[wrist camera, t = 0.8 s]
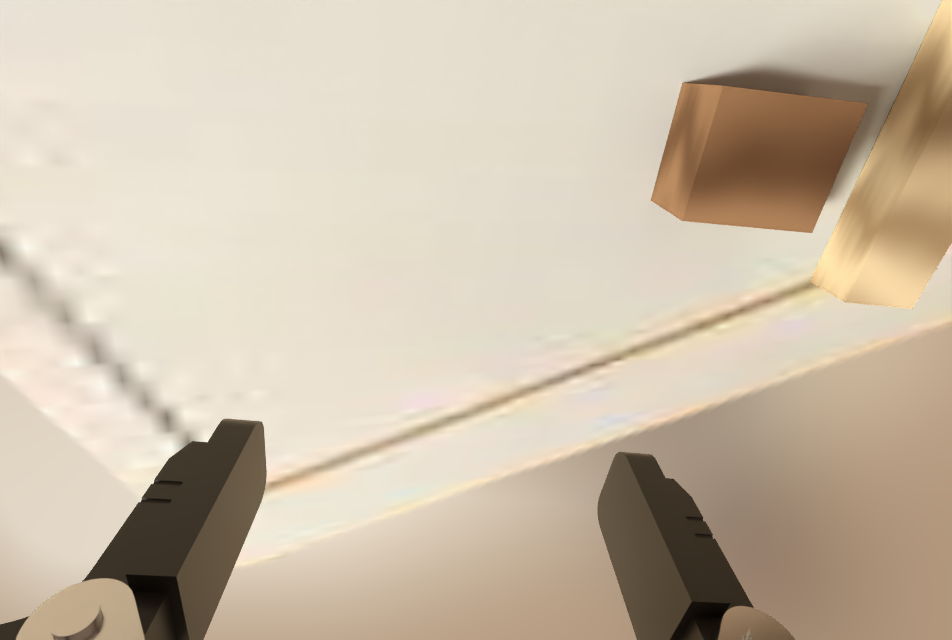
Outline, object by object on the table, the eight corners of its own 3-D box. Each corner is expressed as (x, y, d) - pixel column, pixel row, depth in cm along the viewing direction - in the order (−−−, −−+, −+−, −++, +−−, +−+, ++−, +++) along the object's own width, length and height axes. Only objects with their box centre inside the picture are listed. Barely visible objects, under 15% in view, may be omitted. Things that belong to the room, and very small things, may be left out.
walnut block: (681, 82, 29) (723, 85, 25) (805, 97, 30) (868, 103, 25) (649, 199, 32) (682, 220, 28) (763, 210, 33) (811, 233, 29)
